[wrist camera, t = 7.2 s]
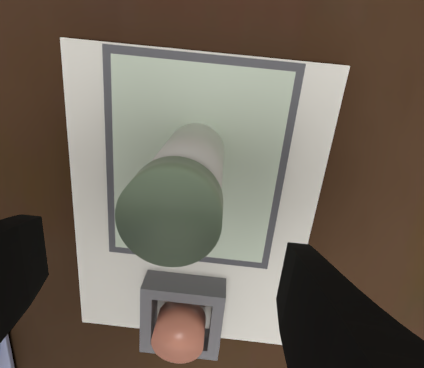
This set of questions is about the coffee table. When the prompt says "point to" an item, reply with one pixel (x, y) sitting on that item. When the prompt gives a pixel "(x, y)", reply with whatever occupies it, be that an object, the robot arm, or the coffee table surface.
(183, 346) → the button
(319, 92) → the activity board
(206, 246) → the marker
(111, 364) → the coffee table surface
